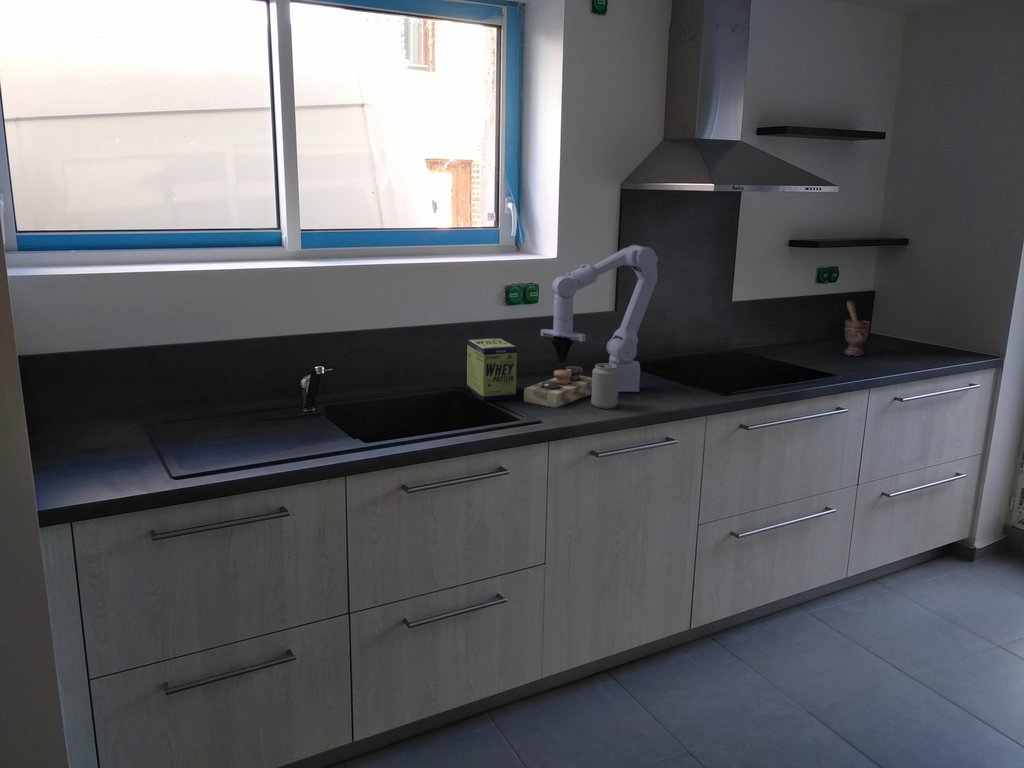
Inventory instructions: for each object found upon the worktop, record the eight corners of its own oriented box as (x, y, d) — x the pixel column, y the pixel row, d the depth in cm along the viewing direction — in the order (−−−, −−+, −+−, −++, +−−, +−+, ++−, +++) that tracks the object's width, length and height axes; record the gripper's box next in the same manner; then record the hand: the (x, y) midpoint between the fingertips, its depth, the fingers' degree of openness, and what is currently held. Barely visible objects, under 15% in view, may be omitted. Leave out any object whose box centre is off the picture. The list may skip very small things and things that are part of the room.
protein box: (483, 401, 238) (483, 348, 234) (466, 389, 252) (466, 338, 248) (516, 398, 241) (517, 346, 238) (498, 386, 255) (498, 337, 252)
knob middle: (569, 384, 247) (570, 369, 246) (572, 388, 242) (572, 373, 241) (552, 384, 246) (553, 369, 245) (554, 388, 241) (555, 373, 240)
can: (602, 401, 240) (604, 361, 237) (622, 406, 235) (625, 365, 232) (585, 405, 235) (587, 364, 232) (606, 411, 230) (608, 369, 227)
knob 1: (558, 396, 242) (558, 381, 241) (560, 400, 237) (560, 385, 236) (540, 395, 242) (541, 381, 241) (542, 400, 237) (542, 385, 236)
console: (567, 385, 257) (567, 373, 257) (598, 391, 251) (598, 378, 250) (523, 401, 238) (524, 388, 237) (556, 407, 232) (556, 394, 231)
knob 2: (580, 380, 252) (581, 366, 251) (583, 384, 247) (583, 370, 246) (563, 380, 252) (564, 366, 251) (565, 384, 247) (566, 369, 245)
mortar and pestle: (830, 352, 318) (836, 300, 314) (845, 350, 322) (851, 299, 318) (855, 357, 309) (861, 304, 304) (870, 355, 313) (877, 303, 308)
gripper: (535, 316, 245) (534, 361, 248) (577, 321, 237) (575, 367, 240) (548, 313, 251) (547, 357, 254) (589, 318, 243) (588, 363, 246)
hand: (562, 362), depth 248 cm, fingers closed
